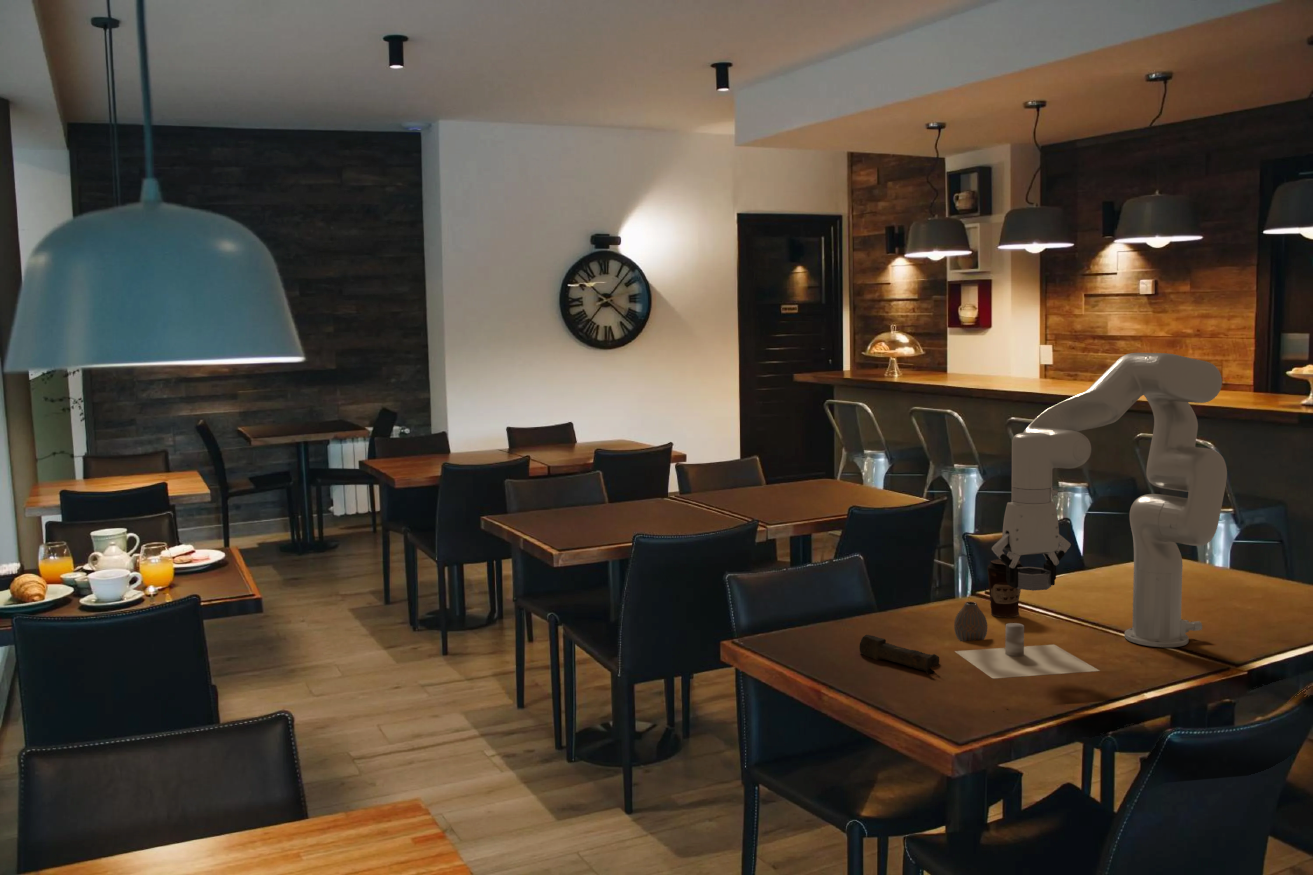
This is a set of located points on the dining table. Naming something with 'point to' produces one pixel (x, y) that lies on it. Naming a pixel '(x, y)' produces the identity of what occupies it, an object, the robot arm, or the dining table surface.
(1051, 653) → the board
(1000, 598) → the coffee cup
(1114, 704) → the dining table surface
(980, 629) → the vase
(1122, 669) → the dining table surface
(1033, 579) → the ring
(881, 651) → the hand tool
